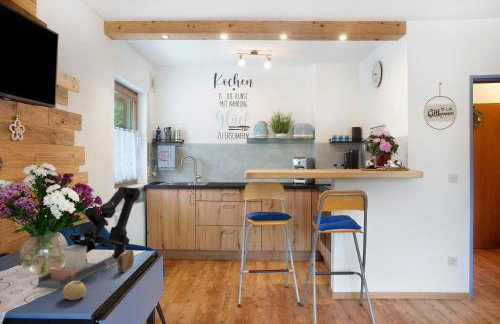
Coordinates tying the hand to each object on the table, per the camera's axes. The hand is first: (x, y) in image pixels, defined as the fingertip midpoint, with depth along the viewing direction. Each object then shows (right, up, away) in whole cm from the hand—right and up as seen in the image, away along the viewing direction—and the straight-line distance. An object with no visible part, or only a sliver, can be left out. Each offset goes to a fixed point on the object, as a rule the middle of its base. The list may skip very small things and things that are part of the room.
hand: (80, 256), depth 160 cm
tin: (+18, -8, +7) cm, 21 cm away
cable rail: (-1, -8, -3) cm, 9 cm away
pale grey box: (-1, -6, -3) cm, 7 cm away
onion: (+11, -9, -27) cm, 31 cm away
